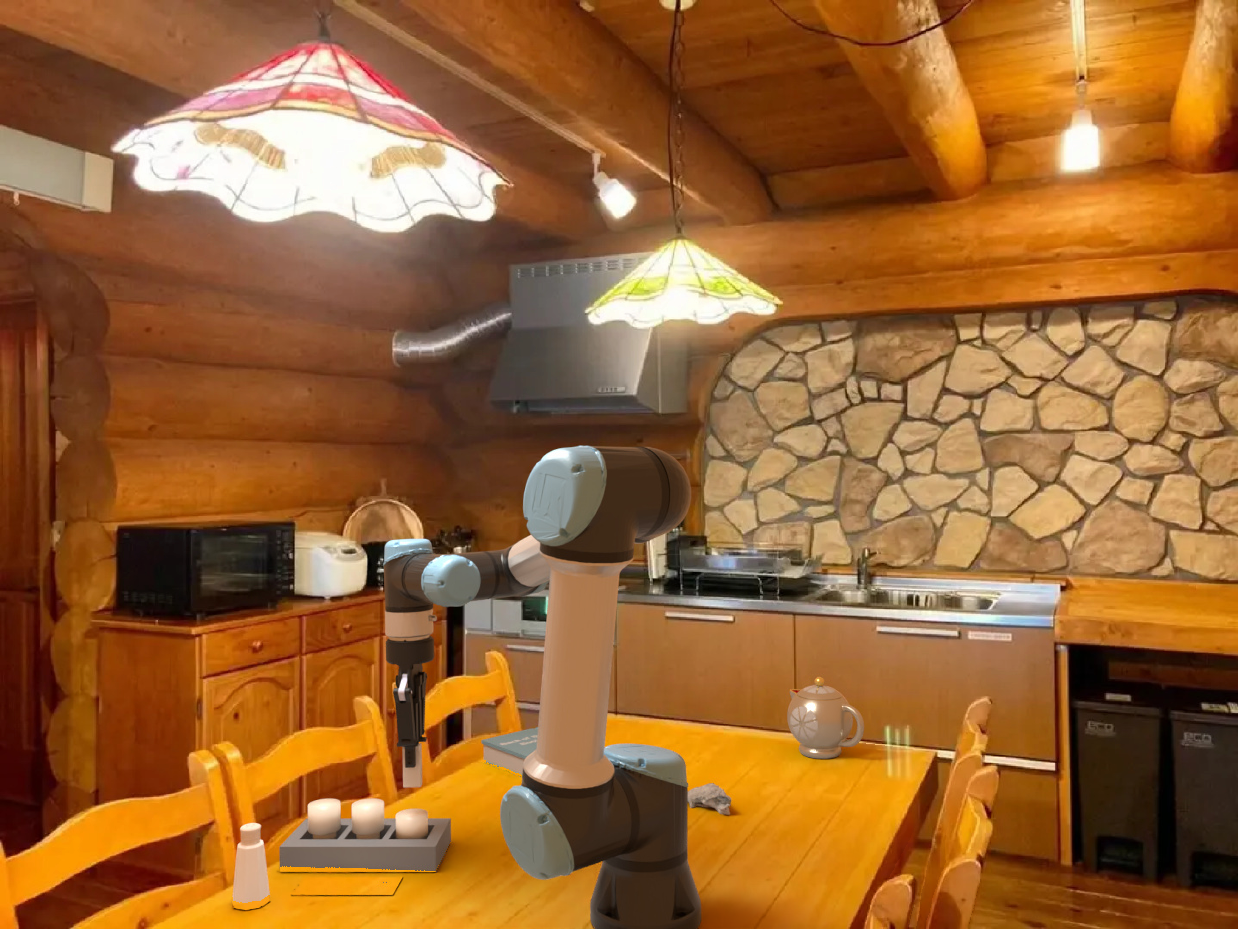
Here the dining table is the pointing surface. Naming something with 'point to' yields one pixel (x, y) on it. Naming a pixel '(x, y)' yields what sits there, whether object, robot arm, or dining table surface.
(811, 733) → the teapot
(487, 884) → the dining table surface
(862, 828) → the dining table surface
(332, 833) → the button
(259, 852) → the salt shaker
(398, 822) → the button
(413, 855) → the gray compartment tray
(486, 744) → the book
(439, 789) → the dining table surface
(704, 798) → the stone
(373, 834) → the button mid
